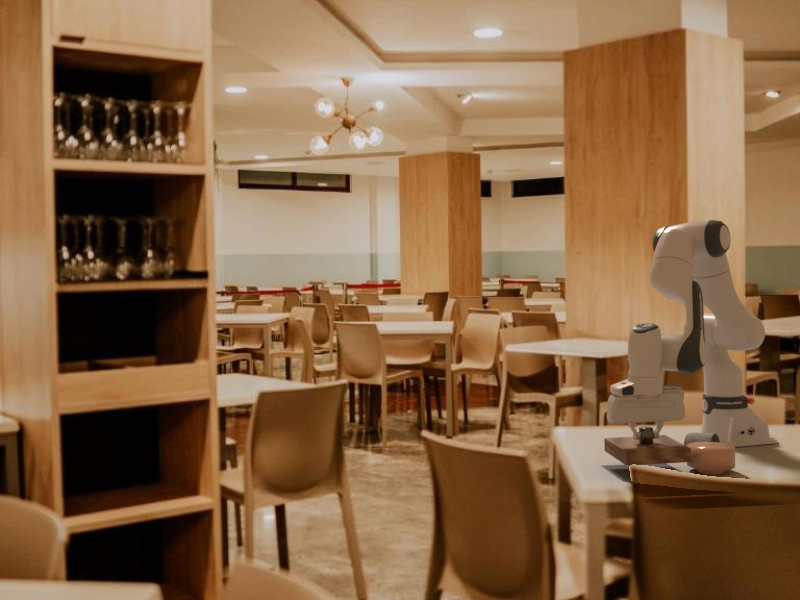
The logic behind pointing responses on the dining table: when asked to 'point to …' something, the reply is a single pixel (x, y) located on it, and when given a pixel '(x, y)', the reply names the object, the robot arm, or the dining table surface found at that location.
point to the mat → (624, 473)
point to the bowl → (712, 457)
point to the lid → (647, 449)
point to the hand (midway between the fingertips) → (646, 438)
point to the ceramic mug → (701, 438)
